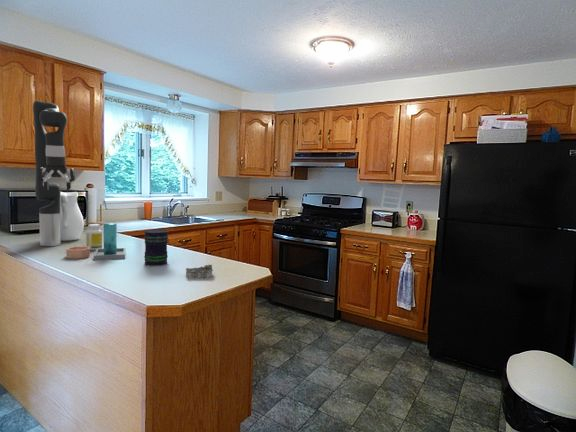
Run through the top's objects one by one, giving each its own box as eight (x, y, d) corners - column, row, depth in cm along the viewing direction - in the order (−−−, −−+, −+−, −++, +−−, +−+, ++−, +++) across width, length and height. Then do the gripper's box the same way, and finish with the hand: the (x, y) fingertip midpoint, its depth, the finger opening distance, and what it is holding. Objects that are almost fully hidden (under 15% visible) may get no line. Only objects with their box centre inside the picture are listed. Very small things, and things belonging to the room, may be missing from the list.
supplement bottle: (104, 248, 185) (104, 224, 183) (96, 250, 178) (96, 225, 176) (92, 247, 185) (92, 223, 184) (83, 249, 178) (83, 225, 177)
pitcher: (53, 237, 208) (52, 191, 206) (85, 236, 215) (85, 192, 213) (44, 244, 187) (43, 193, 184) (80, 243, 194) (80, 194, 191)
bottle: (104, 253, 169) (103, 223, 168) (116, 252, 171) (116, 223, 170) (103, 255, 164) (103, 224, 162) (116, 255, 166) (116, 224, 165)
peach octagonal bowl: (68, 254, 165) (68, 246, 165) (91, 253, 169) (90, 245, 169) (65, 259, 157) (65, 250, 156) (88, 258, 161) (88, 249, 160)
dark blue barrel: (159, 266, 151) (160, 233, 150) (139, 264, 153) (139, 231, 152) (171, 262, 161) (172, 230, 159) (152, 260, 163) (153, 228, 161)
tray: (96, 252, 172) (96, 248, 172) (125, 251, 178) (125, 248, 178) (93, 259, 158) (93, 255, 158) (124, 258, 163) (124, 254, 163)
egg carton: (212, 273, 145) (213, 264, 145) (212, 278, 138) (212, 268, 137) (186, 273, 143) (186, 264, 143) (184, 278, 136) (184, 268, 135)
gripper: (75, 155, 167) (76, 189, 170) (40, 154, 162) (42, 188, 165) (71, 156, 160) (73, 191, 163) (34, 154, 155) (37, 190, 158)
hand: (57, 189), depth 164 cm, fingers open, 8 cm apart
